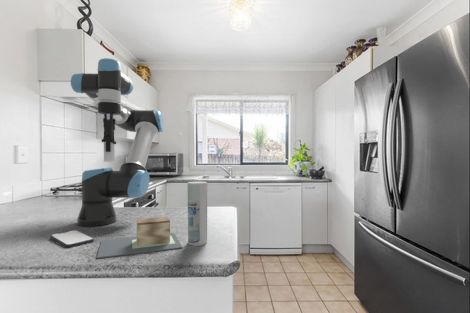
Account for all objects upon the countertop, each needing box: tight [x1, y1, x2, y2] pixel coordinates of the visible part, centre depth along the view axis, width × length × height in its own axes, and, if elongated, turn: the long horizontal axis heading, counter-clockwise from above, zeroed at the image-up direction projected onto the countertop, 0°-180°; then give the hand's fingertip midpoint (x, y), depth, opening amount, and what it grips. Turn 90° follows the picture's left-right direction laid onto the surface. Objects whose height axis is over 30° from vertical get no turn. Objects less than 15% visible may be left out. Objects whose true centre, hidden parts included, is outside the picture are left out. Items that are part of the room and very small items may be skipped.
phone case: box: [49, 229, 95, 249], centre depth 94 cm, size 9×2×16 cm
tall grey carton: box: [187, 180, 208, 247], centre depth 91 cm, size 6×6×20 cm
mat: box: [96, 232, 183, 260], centre depth 89 cm, size 17×24×1 cm
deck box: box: [136, 216, 171, 246], centre depth 90 cm, size 10×6×7 cm, turn 112°
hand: (109, 161), depth 100 cm, fingers open, 13 cm apart
